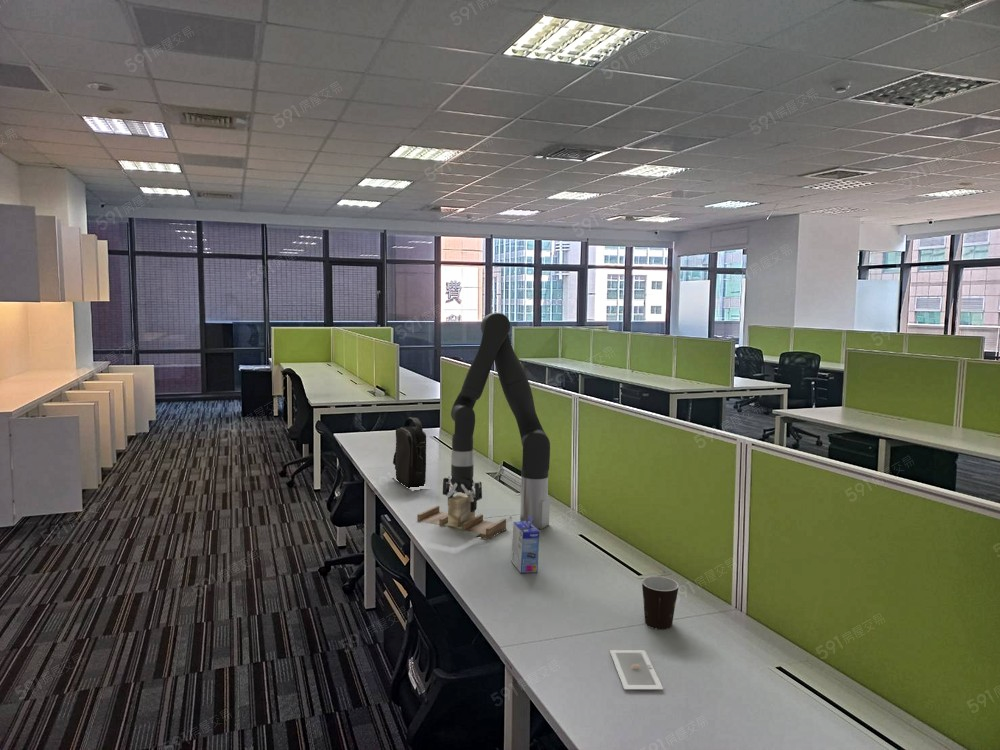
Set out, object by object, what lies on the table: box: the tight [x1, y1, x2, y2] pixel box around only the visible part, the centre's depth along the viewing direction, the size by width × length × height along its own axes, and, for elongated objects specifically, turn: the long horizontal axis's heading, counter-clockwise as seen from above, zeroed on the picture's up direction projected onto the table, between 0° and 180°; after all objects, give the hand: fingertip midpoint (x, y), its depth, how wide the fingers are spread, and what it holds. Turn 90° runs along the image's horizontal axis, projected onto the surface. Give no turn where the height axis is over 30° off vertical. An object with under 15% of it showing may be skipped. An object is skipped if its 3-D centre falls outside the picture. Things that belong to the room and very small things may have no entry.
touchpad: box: [609, 649, 664, 690], centre depth 142 cm, size 8×15×2 cm, turn 2°
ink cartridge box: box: [510, 516, 540, 574], centre depth 196 cm, size 10×6×14 cm, turn 15°
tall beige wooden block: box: [447, 492, 476, 528], centre depth 229 cm, size 4×11×9 cm, turn 152°
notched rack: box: [416, 505, 507, 540], centre depth 230 cm, size 28×12×4 cm, turn 62°
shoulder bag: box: [392, 416, 427, 488], centre depth 282 cm, size 23×9×28 cm, turn 30°
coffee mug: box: [641, 575, 679, 630], centre depth 162 cm, size 12×9×10 cm
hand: (461, 509), depth 229 cm, fingers open, 8 cm apart
